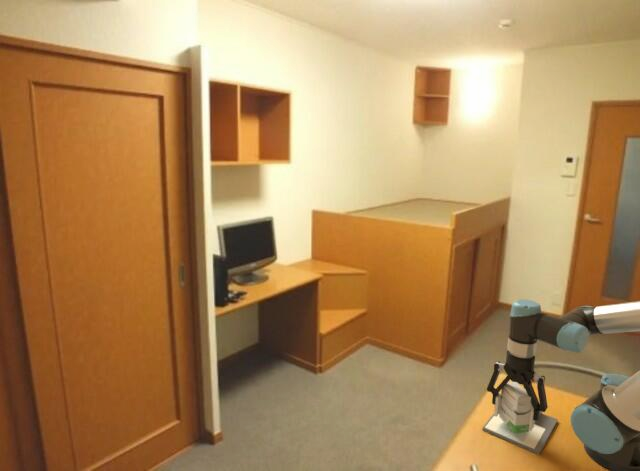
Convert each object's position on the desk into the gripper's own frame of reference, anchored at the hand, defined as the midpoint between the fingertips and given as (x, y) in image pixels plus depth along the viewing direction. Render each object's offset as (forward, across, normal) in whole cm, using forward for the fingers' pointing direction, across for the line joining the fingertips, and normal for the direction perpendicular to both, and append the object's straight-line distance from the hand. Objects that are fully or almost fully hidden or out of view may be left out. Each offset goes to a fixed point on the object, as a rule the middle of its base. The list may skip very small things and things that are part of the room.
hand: (513, 421), depth 128 cm
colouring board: (+4, -1, -4) cm, 6 cm away
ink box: (+1, 0, 0) cm, 1 cm away
